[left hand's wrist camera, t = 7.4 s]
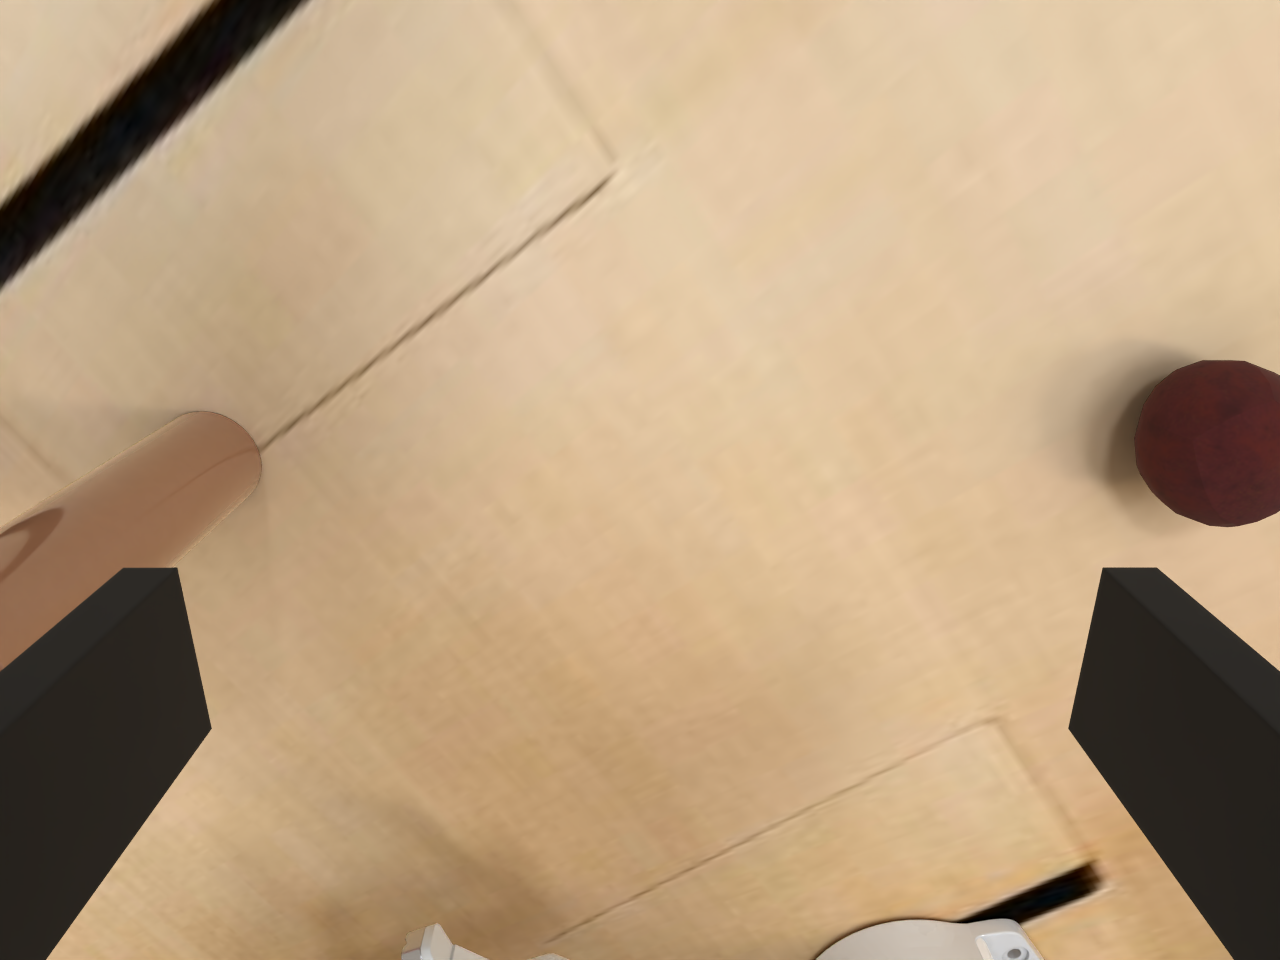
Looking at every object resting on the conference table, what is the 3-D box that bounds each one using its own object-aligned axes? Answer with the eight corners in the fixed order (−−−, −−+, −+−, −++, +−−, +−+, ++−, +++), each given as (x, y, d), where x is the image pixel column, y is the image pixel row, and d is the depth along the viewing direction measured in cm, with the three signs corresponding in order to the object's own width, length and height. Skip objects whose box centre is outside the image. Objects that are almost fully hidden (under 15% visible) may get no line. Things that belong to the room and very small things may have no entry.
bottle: (276, 440, 45) (-104, 764, 22) (241, 522, 47) (-145, 902, 24) (177, 393, 44) (-326, 678, 21) (146, 478, 46) (-354, 828, 23)
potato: (1140, 514, 46) (1222, 578, 40) (1079, 395, 44) (1157, 441, 37) (1278, 440, 45) (1388, 493, 38) (1223, 312, 42) (1331, 345, 36)
